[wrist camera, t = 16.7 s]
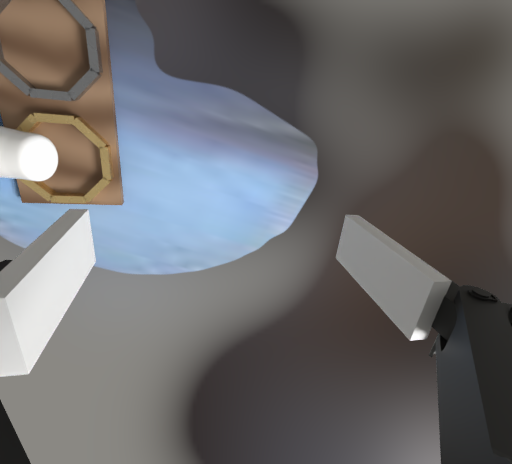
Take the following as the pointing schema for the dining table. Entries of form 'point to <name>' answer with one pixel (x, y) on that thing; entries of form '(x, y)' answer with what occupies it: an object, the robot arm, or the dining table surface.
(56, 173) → the walnut board
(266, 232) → the dining table surface
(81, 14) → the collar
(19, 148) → the drinking glass
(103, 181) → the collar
